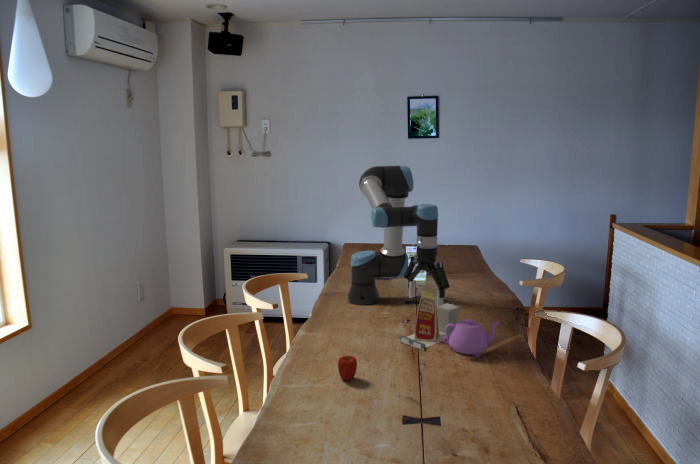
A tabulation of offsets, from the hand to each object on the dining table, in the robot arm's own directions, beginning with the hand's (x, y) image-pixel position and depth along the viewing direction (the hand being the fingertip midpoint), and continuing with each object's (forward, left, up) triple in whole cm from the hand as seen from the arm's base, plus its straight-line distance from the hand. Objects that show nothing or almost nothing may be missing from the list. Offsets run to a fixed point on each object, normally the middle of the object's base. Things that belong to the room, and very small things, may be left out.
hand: (425, 301), depth 203 cm
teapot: (+18, +4, -16) cm, 25 cm away
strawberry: (+4, -43, -16) cm, 46 cm away
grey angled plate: (0, +4, -16) cm, 16 cm away
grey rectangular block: (+1, +12, -15) cm, 19 cm away
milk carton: (0, +1, -15) cm, 15 cm away
